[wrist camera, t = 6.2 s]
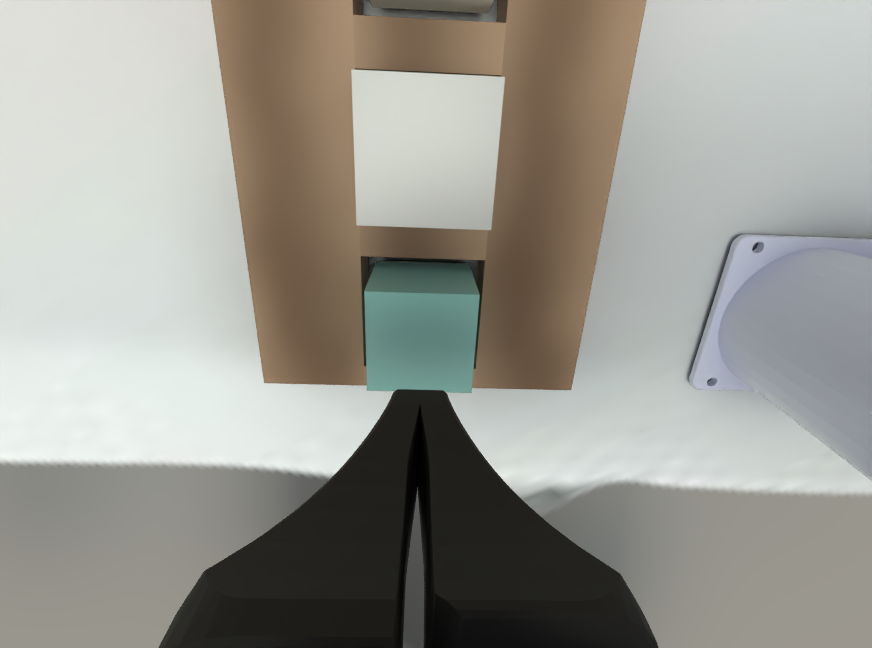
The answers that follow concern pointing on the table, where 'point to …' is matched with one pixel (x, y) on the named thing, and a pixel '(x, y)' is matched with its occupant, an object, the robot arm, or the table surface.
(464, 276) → the teal key
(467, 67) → the walnut keypad frame
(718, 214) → the table surface
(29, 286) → the table surface
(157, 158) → the table surface
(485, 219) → the grey key
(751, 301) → the robot arm
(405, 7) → the ivory key
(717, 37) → the table surface
